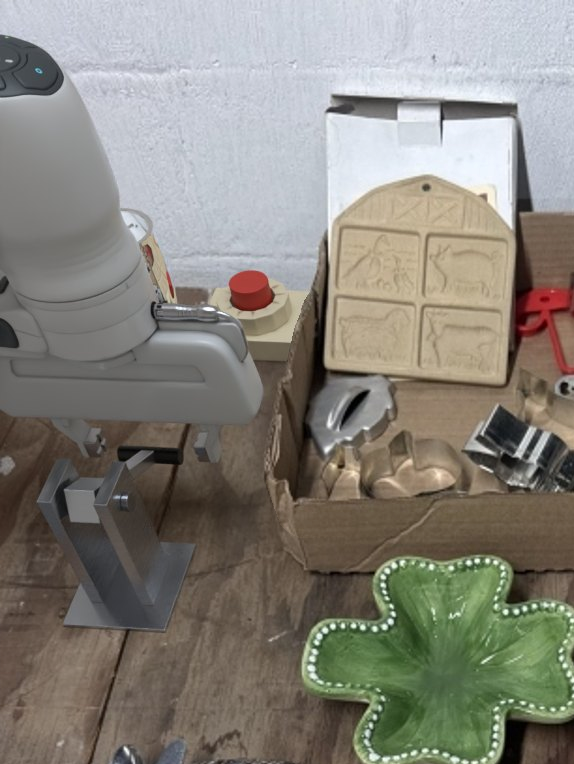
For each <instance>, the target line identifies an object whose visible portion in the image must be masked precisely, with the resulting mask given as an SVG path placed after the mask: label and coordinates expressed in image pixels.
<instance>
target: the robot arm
mask: <svg viewBox="0 0 574 764" xmlns="http://www.w3.org/2000/svg"><path fill="white" fill-rule="evenodd" d="M120 198H121V197H120V190H119V184H118V182H117V179H116V176H115V174H114V171H113V167H112V165H111V163H110V160H109V157H108V154H107V152H106V150H105V147H104V144H103V142H102V139H101V137H100V134H99V132H98V130H97V127H96V126H95V123H94V121H93V119H92V116H91V113H90V112H89V110H88V108H87V106H86V104H85V102H84V100H83V98H82V95H81V94H80V92H79V90H78V88H77V86H76V85H75V84H74V82H73V80H72V79H71V78H70V76H69V74H68V73H67V72H66V71H65V70H64V68H63V67H62V66H61V65H60V63H59V62H58V61H57V60H56V59H55V57H53V56H52V55H51V54H50V53H49V52H48V51H47V50H45V49H44V48H43V47H40V46H39V45H37V44H34V43H32V42H30V41H27V40H26V39H25V40H24V39H21V38H18V37H15V36H11V35H6V34H2V33H1V34H0V410H1V412H4V414H6V415H8V416H10V417H12V418H30V419H31V418H32V419H35V418H36V419H50V421H51V423H52V425H53V428H56V429H57V430H58V431H59V432H60V433H62V434H63V435H65V436H66V437H67V438H69V439H70V440H71V441H73V442H74V443H76V444H77V446H78V448H79V450H80V453H81V454H82V457H83V458H90V459H91V458H92V459H103V458H104V457H105V455H106V454H105V453H107V451H108V448H109V444H108V441H107V438H106V437H104V436H105V434H104V431H103V429H102V428H101V427H92V426H91V425H90V424H89V423H88V422H86V421H85V420H87V421H110V422H111V421H113V422H114V421H115V422H135V423H136V422H138V423H164V424H165V423H166V424H188V425H189V424H192V425H198V427H199V432H198V434H197V437H196V439H197V440H195V442H194V444H193V450H194V453H195V455H197V461H198V462H200V463H212V464H213V463H214V464H217V463H219V461H220V459H221V457H222V453H223V447H222V444H221V440H220V437H219V432H220V430H221V427H222V426H240V427H241V426H248V425H250V424H251V422H253V420H254V418H255V417H256V416H257V414H258V412H259V410H260V407H261V405H262V402H263V397H264V385H263V382H262V379H261V377H260V373H259V372H258V369H257V366H256V364H255V362H254V361H255V360H253V359H252V357H251V355H250V353H249V351H248V350H249V349H248V342H247V339H246V335H245V332H244V328H243V326H242V324H241V322H240V321H239V320H238V319H236V318H234V317H233V316H231V315H229V314H227V313H225V312H222V311H219V309H218V307H217V306H214V305H209V303H208V304H207V303H199V304H196V305H195V304H194V305H191V304H183V303H178V304H177V303H159V300H158V298H157V295H156V292H155V289H154V286H153V283H152V281H151V278H150V275H149V272H148V269H147V267H146V264H145V261H144V258H143V255H142V252H141V250H140V247H139V244H138V242H137V240H136V238H135V236H134V235H133V233H132V232H131V230H130V229H129V228H128V226H127V225H126V223H125V221H124V219H123V217H122V214H121V210H120V208H121V200H120ZM220 317H221V318H220Z"/></svg>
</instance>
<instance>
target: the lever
mask: <svg viewBox="0 0 574 764" xmlns="http://www.w3.org/2000/svg"><path fill="white" fill-rule="evenodd" d="M116 457H117V459H118V461H119V462H126V464H127V467H128V469H129V471H130V474H131V476H132V478H133V481H134V480H136V479H137V478H138V477H140V476H141V475H142V474H144V473H145V472H146V471H147V470H149V469H150V468H151V467H152V466H154V465H171V466H172V465H173V466H181V465H183V464H184V459H185V455H184V451H183V449H182V448H181V447H168V446H167V447H166V446H165V447H164V446H148V445H147V446H146V445H145V446H144V445H124V444H120V445H118V446H117V450H116ZM104 478H105V476H104V477H85V476H84V477H83V476H82V477H81V476H80V479H78V480H77V481H75V482H74V483H72V484H71V485H69V486H68V487H67V488H65V489H64V494H65V499H66V503H67V508H68V513H69V518H70V522H82V523H101V521H100V518H99V516H98V514H97V512H96V510H95V508H94V506H93V503H94V501H95V498H96V496H97V494H98V492H99V489H100V487H101V485H102V483H103V481H104Z"/></svg>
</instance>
